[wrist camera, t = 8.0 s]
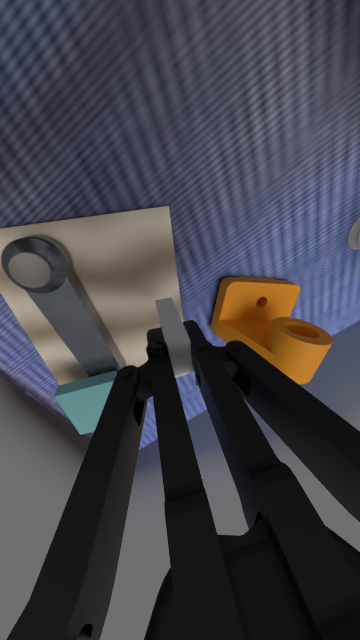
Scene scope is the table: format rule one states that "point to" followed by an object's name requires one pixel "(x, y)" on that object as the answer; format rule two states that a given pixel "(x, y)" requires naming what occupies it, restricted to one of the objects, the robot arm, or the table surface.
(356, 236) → the chalice
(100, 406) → the block
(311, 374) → the bracket
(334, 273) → the table surface
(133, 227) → the base board
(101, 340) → the link
